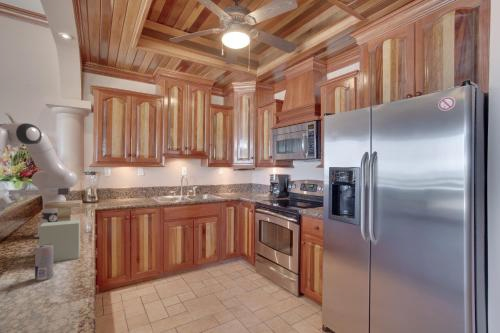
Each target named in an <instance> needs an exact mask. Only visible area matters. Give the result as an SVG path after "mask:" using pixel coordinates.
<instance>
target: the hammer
mask: <svg viewBox="0 0 500 333" xmlns="http://www.w3.org/2000/svg"><path fill="white" fill-rule="evenodd" d="M70 190H71V187H61V188H58V189H43V190H39V189H11V190H10V189H9V190H8V195H14V194H17V193H19V192H21V191H25V192H26V194H25V195H23V196H22V197H24V196H26V197H27V196H41V195H63V196H65V195H69V194H70V193H71V192H70Z"/></svg>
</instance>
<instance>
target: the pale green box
mask: <svg viewBox="0 0 500 333" xmlns="http://www.w3.org/2000/svg"><path fill="white" fill-rule="evenodd" d="M38 238H39V239H38V240H39V241H38V243H39V245H38V246H40V245H44V244H52V245H53V263H57V262H62V261H69V260H76V259H77V260H78V259H79V258H80V254H81V251H80V243H81V219H76V220H75V219H71V221H59V222H47V223H43V224H42V225H41V226H40V227H39V237H38Z"/></svg>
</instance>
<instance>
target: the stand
mask: <svg viewBox="0 0 500 333" xmlns="http://www.w3.org/2000/svg"><path fill="white" fill-rule="evenodd" d="M82 204H83V200H82V199H80V200H79V199H77V200H66V201H54V202H47V203H46V204H44V209H51V208H57V222H59V221H72V208H81V207H82ZM82 245H83V244H82V242H80V252H81V251H82V250H81V249H82Z"/></svg>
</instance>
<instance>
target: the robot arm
mask: <svg viewBox="0 0 500 333" xmlns="http://www.w3.org/2000/svg"><path fill="white" fill-rule="evenodd" d="M8 145H15V146H19V145H24V146H26V148H27V151H28V153H29V155H30V156H31V157H30V158H31V159H32V161H33V163H34V164H35V166H36V167H37V168H39V169H41V170H39V171H36V172H35V173H33V175H31V176H32V177H31V182H32V184H33V185H34V187H36V188H37V190H43V189H58V188H61V187H70V188H74V187H75V185H76V184H77V183H78V175H77V174H76V172H74V171H72V170H70V169H69V168H68V167H66V165H64V163H63V162H62V161H61V160H60V158H59V157H58V155H57V153H56V151H55V148H54V146H53V143H52V141H51V140H50V138H49V137H48V135H47V134H46V133H45V132H44V131H43V130H41V129H39V127H37V126H36V125H34V124H31V123H22V122H11V123H2V124H0V159H1V157H2V156H3V154H4V153H5V150H6V148H7V146H8ZM25 194H26V192H25V191H21V192H19V193H17V194H14V195H9V194H8V195H4V196H2V197H0V216H1V215H2V214H3V212H5V210H6V209H7V208H9V207H10V206H12V205H13V204H15V203H18V202H19V201H21V200H22V198H23V197H24V196H23V195H25ZM40 196H41V199H42V213H41V220H40V221H39V222H38V226H37V233H36V234H34V235H33V236H34V238H39V227H40V226H41V225H42V224H43V223H47V222H57V208H51V209H44V204H46V203H47V202H54V201H67V198H66V196H65V195H40Z"/></svg>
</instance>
